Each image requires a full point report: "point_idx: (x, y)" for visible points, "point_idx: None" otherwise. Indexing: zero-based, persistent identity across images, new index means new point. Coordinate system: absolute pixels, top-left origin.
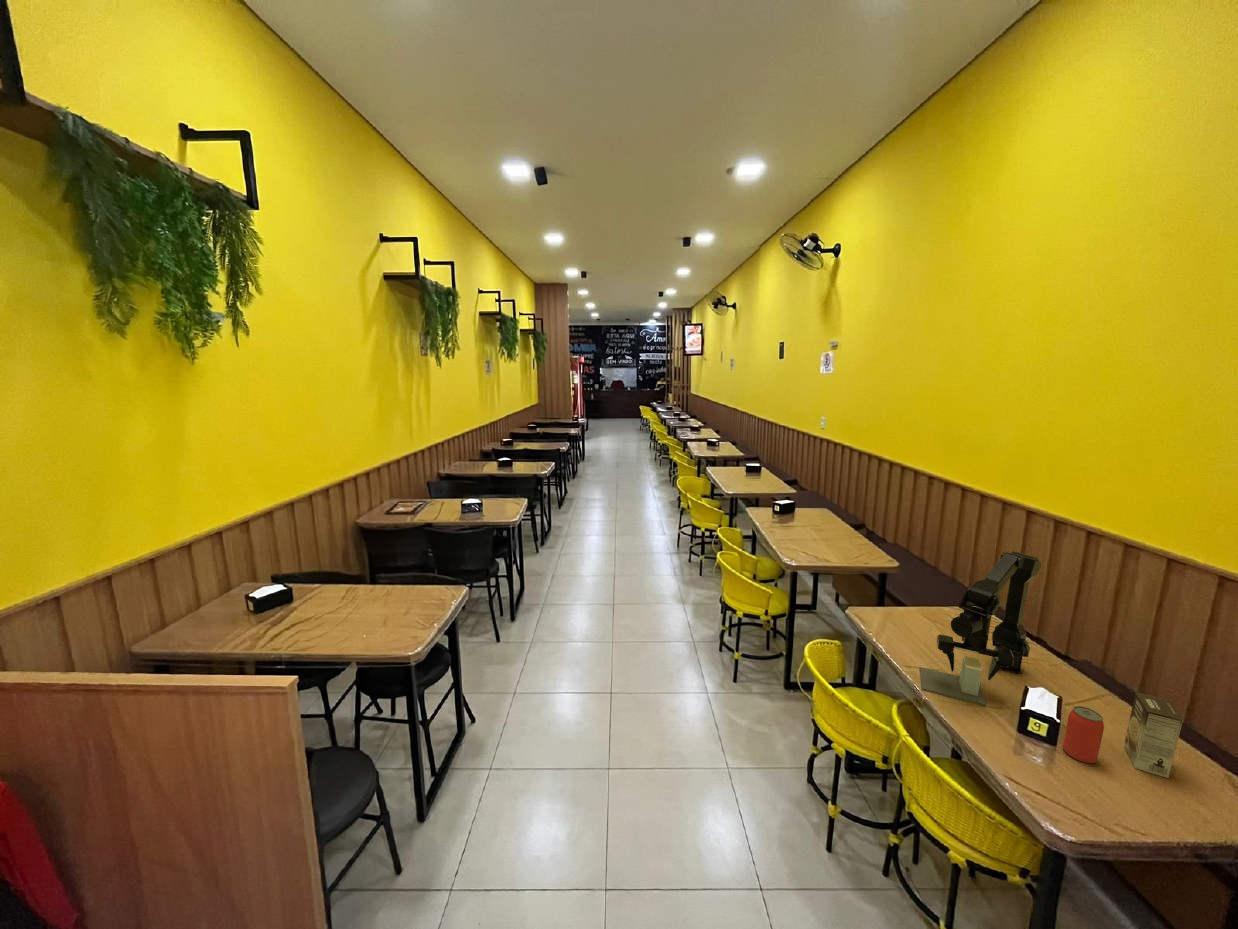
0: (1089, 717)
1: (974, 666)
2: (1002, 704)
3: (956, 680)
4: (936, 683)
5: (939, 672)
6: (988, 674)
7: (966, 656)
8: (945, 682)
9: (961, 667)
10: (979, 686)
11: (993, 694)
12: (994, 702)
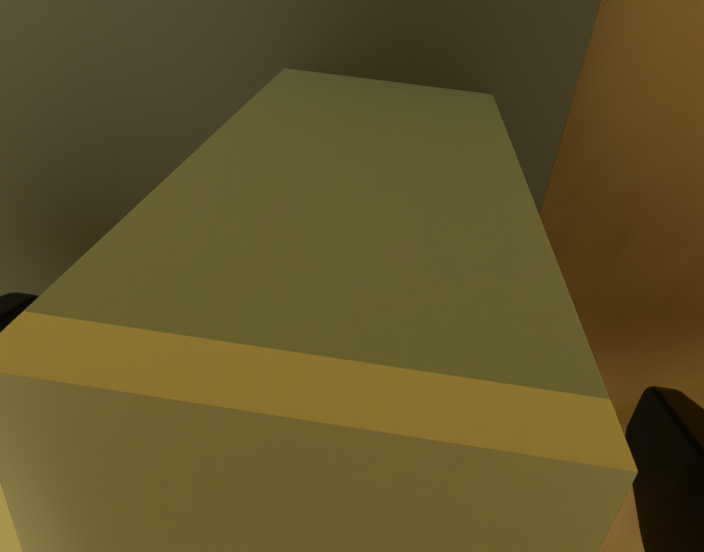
0: None
1: None
2: (686, 361)
3: (248, 43)
4: (10, 235)
5: None
6: (676, 493)
7: (102, 398)
8: (104, 168)
9: (192, 168)
10: (562, 92)
11: (699, 181)
12: (606, 350)
